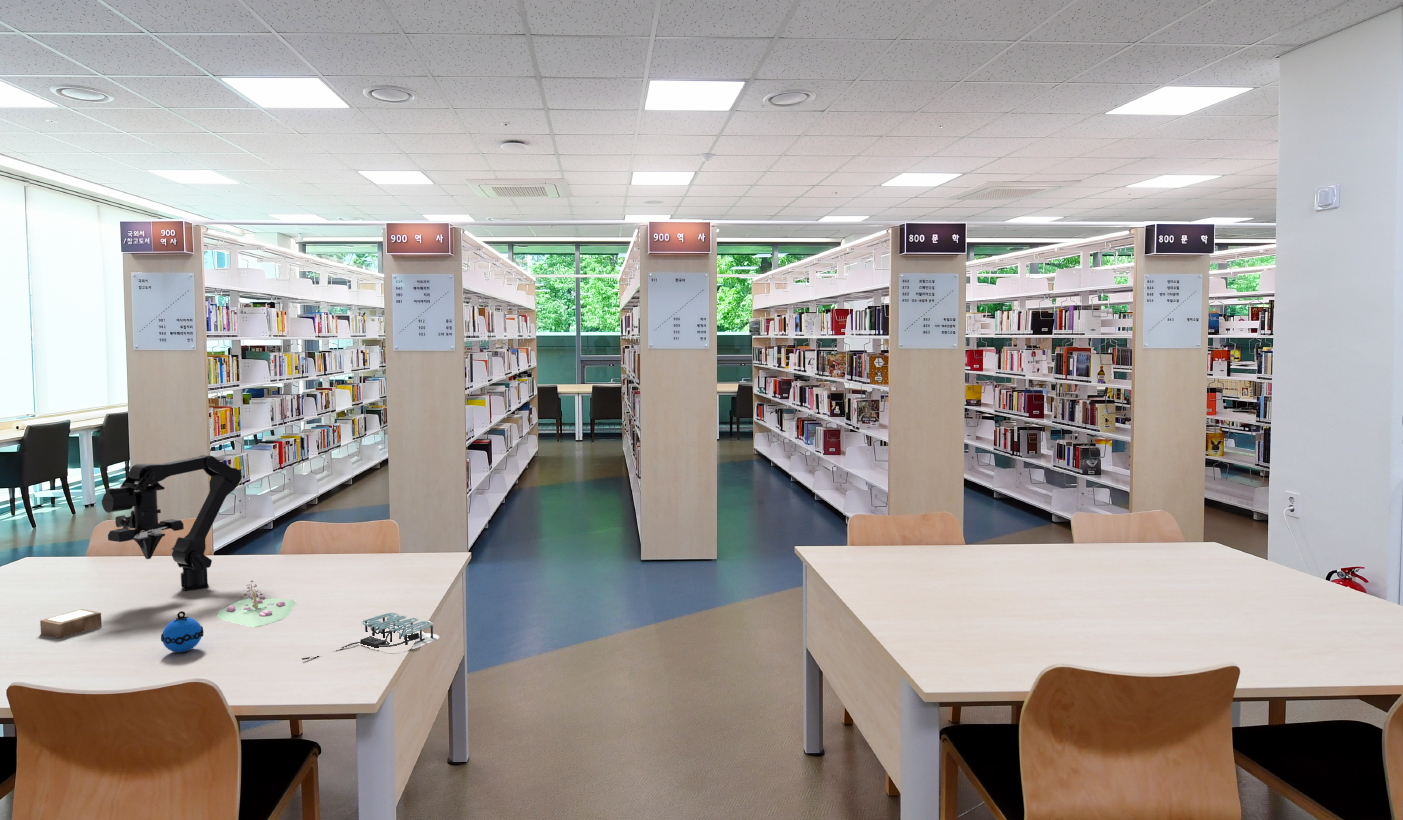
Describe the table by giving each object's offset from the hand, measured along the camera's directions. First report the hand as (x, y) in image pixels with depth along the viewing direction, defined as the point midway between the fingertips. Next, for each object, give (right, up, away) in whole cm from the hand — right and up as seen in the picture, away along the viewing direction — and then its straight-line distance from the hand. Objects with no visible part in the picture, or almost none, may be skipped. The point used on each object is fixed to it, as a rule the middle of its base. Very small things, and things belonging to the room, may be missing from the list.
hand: (148, 558), depth 240 cm
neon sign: (+81, -16, -38) cm, 91 cm away
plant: (+39, -14, -12) cm, 43 cm away
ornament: (+37, -15, -41) cm, 57 cm away
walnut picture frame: (0, -12, -22) cm, 25 cm away
